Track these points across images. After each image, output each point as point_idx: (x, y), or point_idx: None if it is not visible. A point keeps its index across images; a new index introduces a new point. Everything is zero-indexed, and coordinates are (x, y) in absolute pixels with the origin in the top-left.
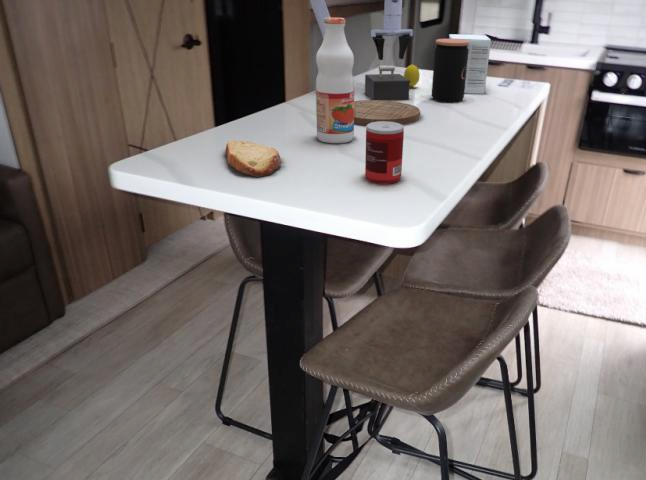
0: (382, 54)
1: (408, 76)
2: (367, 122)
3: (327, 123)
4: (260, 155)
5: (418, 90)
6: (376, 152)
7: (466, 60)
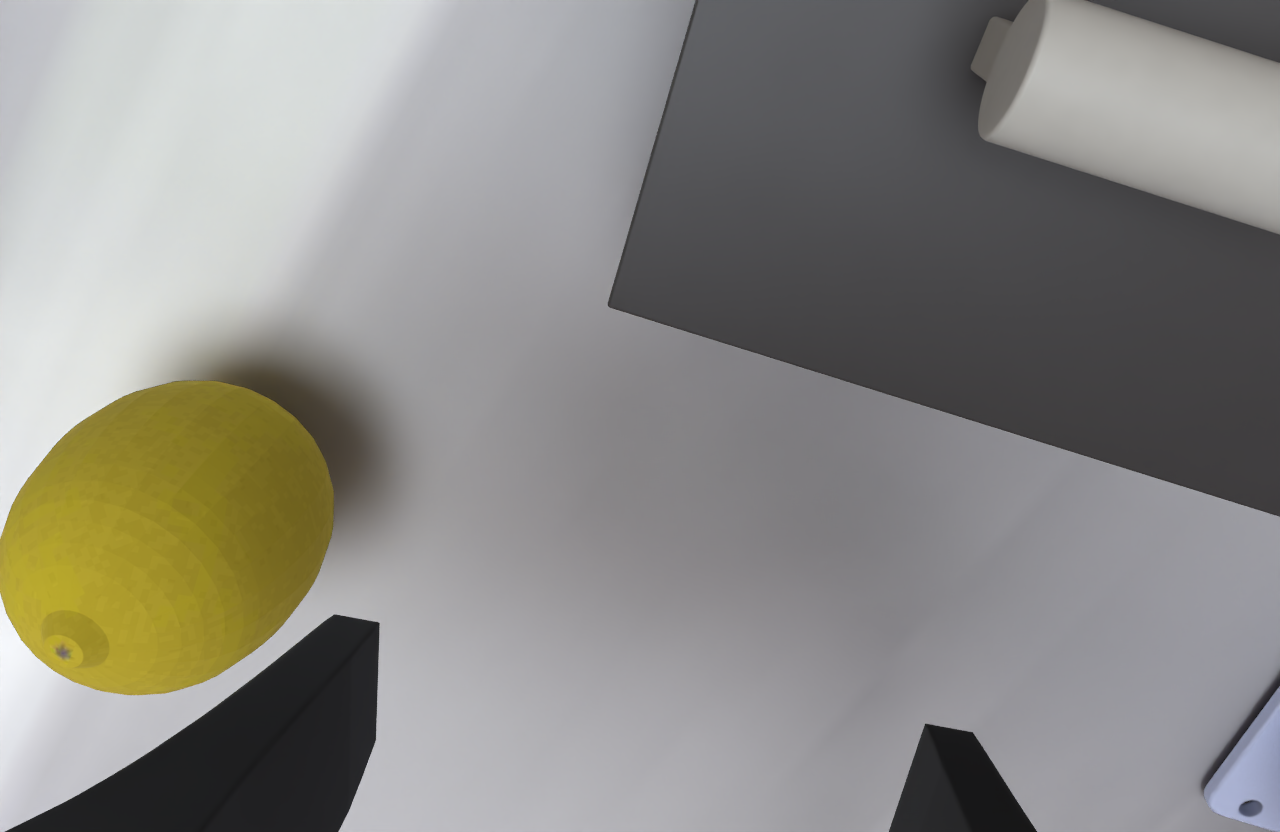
0: (986, 816)
1: (278, 477)
2: None
3: None
4: None
5: (241, 228)
6: None
7: None
